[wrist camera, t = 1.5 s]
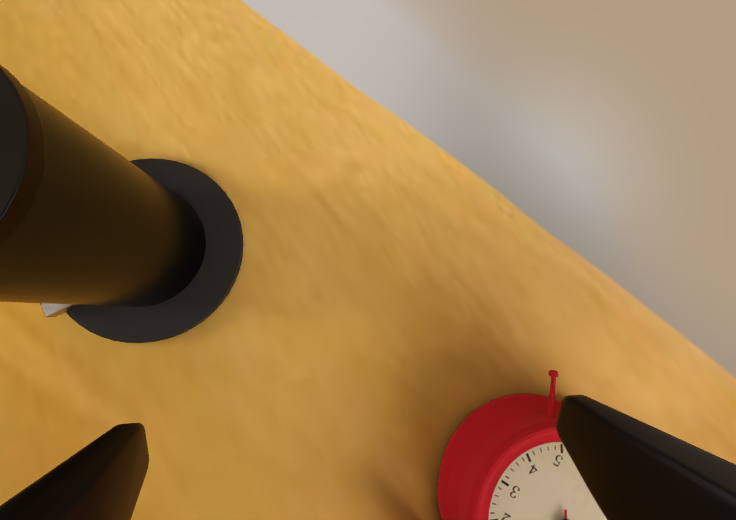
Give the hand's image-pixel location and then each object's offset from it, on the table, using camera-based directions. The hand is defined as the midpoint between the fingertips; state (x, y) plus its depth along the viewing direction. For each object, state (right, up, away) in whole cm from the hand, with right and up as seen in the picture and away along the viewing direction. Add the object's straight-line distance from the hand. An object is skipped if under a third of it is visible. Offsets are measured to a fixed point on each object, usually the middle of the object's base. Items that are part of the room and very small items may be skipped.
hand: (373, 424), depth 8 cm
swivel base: (-13, +4, +14) cm, 19 cm away
